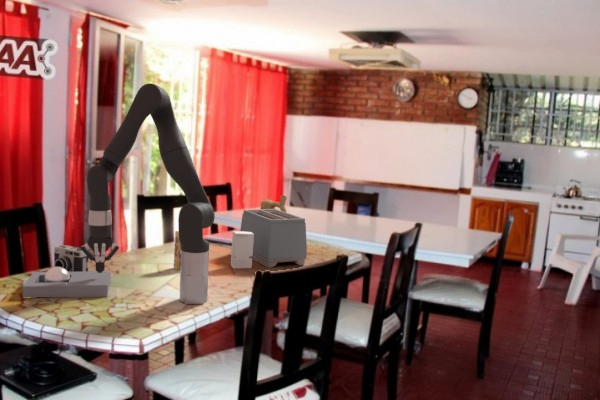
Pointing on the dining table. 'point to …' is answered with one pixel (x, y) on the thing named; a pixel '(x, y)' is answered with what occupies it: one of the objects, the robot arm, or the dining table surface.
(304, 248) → the toaster
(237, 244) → the skincare box
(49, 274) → the ball
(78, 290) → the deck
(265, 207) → the tan irregular piece
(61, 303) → the dining table surface
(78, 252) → the camera
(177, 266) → the candy box
